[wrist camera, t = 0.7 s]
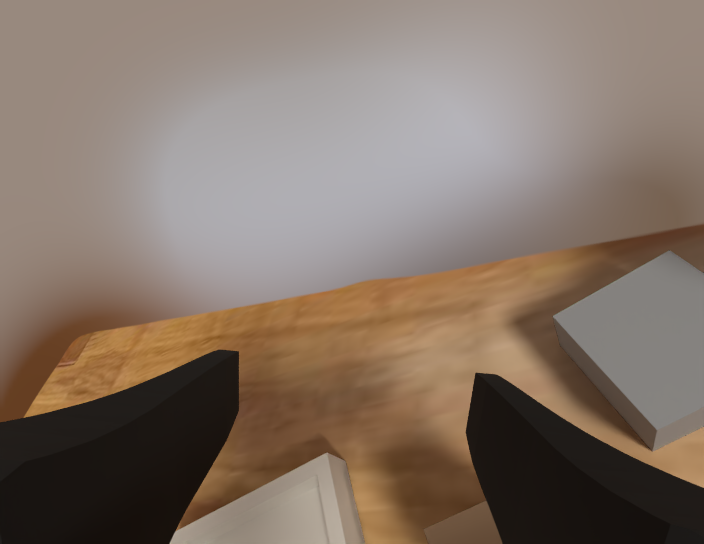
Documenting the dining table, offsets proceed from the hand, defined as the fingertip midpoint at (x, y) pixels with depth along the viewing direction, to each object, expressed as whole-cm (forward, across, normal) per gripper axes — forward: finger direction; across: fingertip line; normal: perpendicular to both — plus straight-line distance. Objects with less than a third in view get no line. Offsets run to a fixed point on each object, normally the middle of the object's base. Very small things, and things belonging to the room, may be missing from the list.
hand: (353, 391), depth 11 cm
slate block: (+10, -17, +3) cm, 20 cm away
